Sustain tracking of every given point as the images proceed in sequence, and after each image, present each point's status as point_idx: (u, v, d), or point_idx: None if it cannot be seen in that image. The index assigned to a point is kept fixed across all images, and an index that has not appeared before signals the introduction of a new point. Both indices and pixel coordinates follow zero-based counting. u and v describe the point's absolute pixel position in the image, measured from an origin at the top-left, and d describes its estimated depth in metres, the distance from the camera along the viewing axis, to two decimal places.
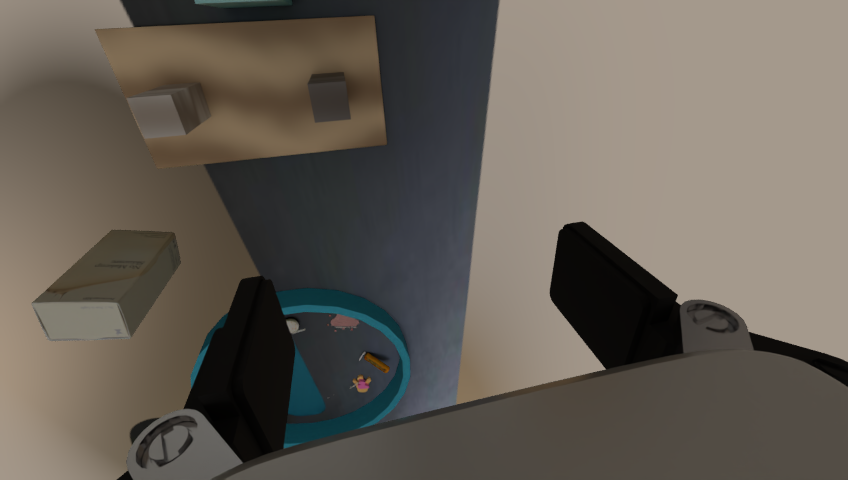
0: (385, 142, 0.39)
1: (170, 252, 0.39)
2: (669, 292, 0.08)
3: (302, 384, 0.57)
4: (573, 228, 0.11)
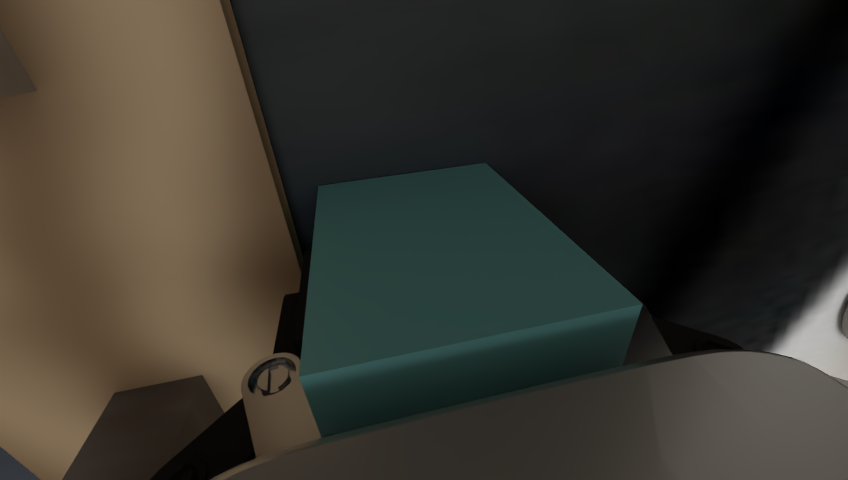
0: None
1: None
2: None
3: None
4: None
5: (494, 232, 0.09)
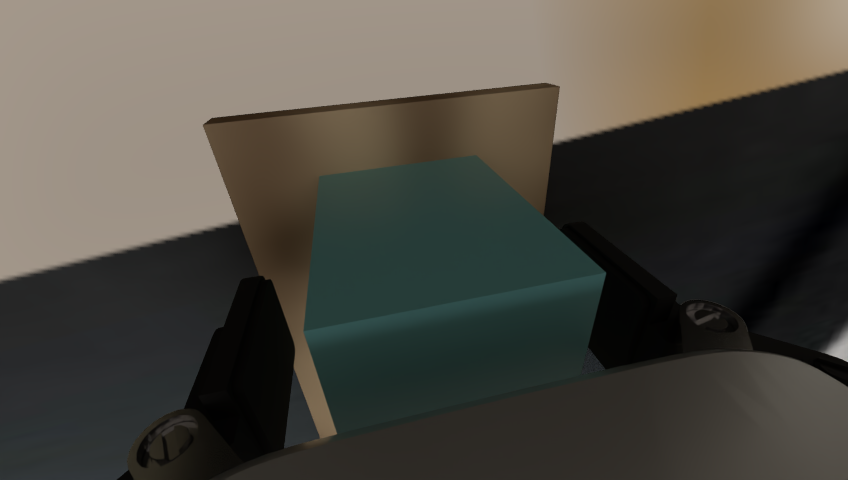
0: None
1: None
2: (668, 291, 0.08)
3: None
4: (573, 228, 0.11)
5: (480, 214, 0.09)
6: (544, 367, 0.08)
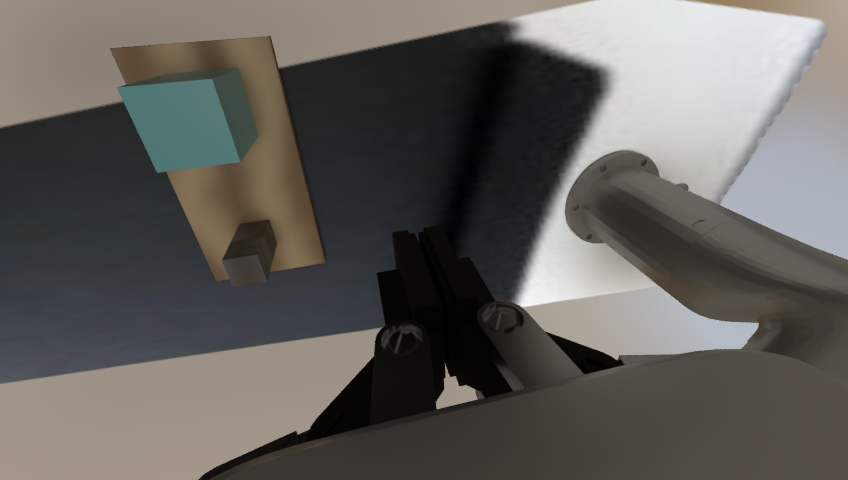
0: (218, 279, 0.40)
1: None
2: (472, 293, 0.09)
3: None
4: (426, 231, 0.11)
5: (202, 75, 0.27)
6: (209, 118, 0.25)
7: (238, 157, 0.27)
